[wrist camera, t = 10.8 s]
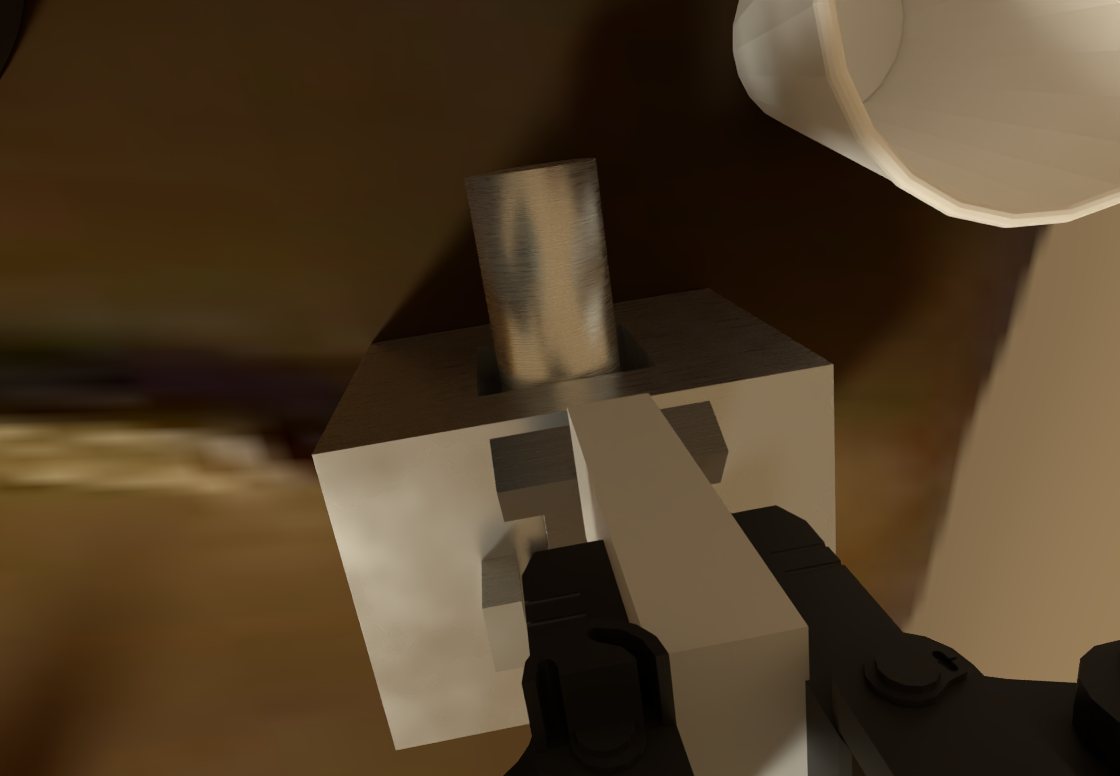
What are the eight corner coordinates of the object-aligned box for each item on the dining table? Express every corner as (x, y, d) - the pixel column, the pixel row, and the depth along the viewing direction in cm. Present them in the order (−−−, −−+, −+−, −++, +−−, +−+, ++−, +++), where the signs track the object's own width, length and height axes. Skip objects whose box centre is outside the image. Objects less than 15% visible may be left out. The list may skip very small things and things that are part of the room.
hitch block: (370, 343, 29) (291, 494, 16) (707, 287, 30) (876, 390, 17) (421, 554, 32) (387, 813, 20) (723, 499, 33) (873, 714, 20)
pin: (430, 178, 24) (415, 189, 18) (614, 151, 25) (658, 152, 19) (513, 606, 30) (523, 721, 24) (660, 578, 31) (706, 684, 24)
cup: (862, -240, 24) (1225, -599, 12) (1021, 51, 28) (1414, -17, 16) (600, 13, 26) (704, -97, 14) (783, 256, 29) (985, 328, 18)
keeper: (488, 435, 14) (497, 497, 13) (708, 396, 14) (730, 455, 13) (526, 589, 20) (534, 638, 19) (676, 561, 21) (690, 608, 20)
